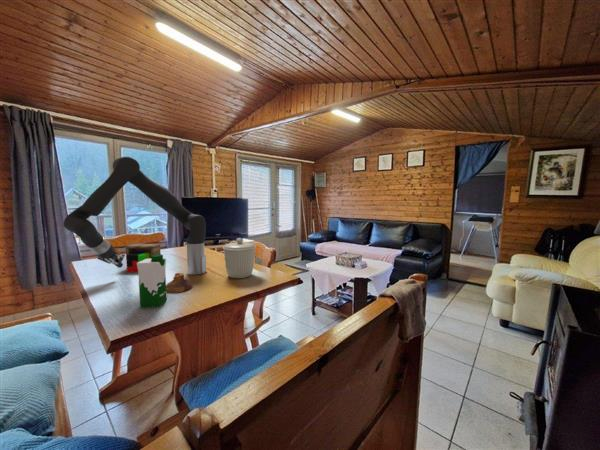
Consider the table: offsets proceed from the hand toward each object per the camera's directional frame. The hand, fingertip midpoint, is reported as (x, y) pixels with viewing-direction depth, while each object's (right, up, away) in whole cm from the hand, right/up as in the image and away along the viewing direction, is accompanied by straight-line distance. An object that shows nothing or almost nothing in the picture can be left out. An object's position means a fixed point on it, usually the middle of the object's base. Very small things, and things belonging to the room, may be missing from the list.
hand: (120, 266), depth 135 cm
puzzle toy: (0, -5, +18) cm, 19 cm away
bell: (+36, -9, -12) cm, 39 cm away
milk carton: (+34, -11, -30) cm, 47 cm away
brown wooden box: (0, -5, +21) cm, 21 cm away
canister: (+60, -7, +9) cm, 61 cm away
